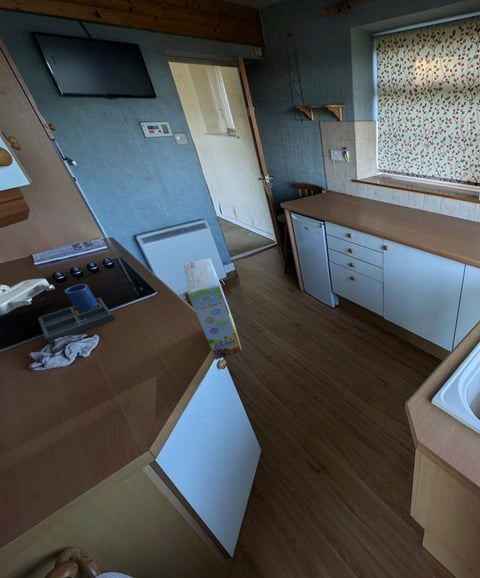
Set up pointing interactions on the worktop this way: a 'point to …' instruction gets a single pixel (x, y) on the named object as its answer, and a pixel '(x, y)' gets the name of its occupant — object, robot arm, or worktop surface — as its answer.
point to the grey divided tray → (64, 321)
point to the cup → (82, 298)
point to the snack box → (211, 308)
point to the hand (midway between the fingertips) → (42, 294)
